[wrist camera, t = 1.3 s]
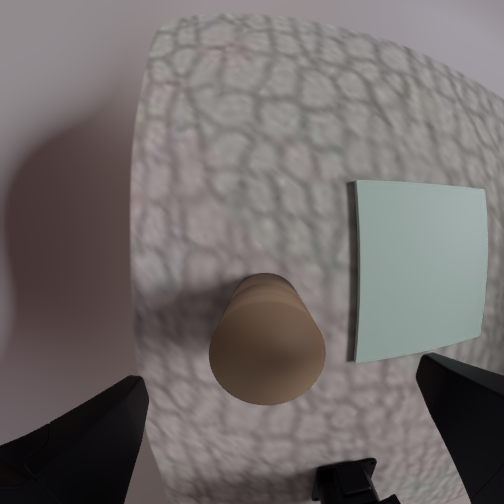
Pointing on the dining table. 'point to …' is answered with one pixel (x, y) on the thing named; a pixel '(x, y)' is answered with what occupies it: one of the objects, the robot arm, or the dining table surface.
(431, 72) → the dining table surface
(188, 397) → the dining table surface
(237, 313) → the brown rounded cylinder
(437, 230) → the card
